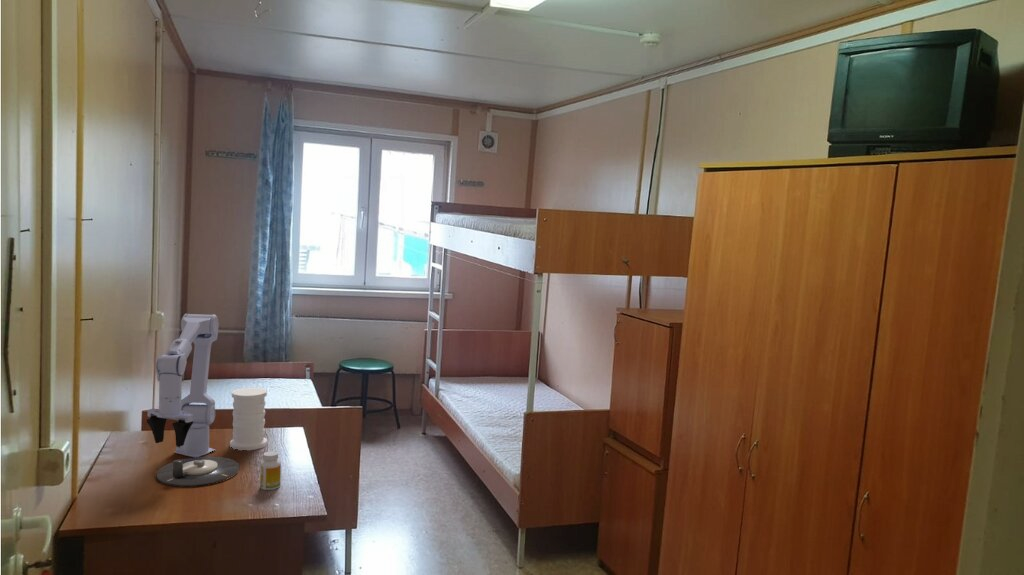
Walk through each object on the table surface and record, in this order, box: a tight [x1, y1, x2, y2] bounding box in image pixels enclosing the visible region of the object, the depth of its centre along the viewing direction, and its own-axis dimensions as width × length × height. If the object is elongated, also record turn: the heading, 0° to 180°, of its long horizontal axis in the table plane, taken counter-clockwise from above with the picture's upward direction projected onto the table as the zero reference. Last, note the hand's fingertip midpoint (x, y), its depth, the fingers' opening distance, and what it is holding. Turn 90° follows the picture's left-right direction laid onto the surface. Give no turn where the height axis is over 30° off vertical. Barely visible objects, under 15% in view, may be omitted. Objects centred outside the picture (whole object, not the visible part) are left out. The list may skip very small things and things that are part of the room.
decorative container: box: [229, 387, 268, 451], centre depth 231 cm, size 12×12×18 cm
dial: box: [172, 459, 218, 477], centre depth 204 cm, size 14×10×5 cm
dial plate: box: [156, 456, 240, 488], centre depth 206 cm, size 22×22×1 cm
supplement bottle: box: [259, 450, 282, 491], centre depth 198 cm, size 5×5×10 cm
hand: (169, 444), depth 200 cm, fingers open, 7 cm apart
